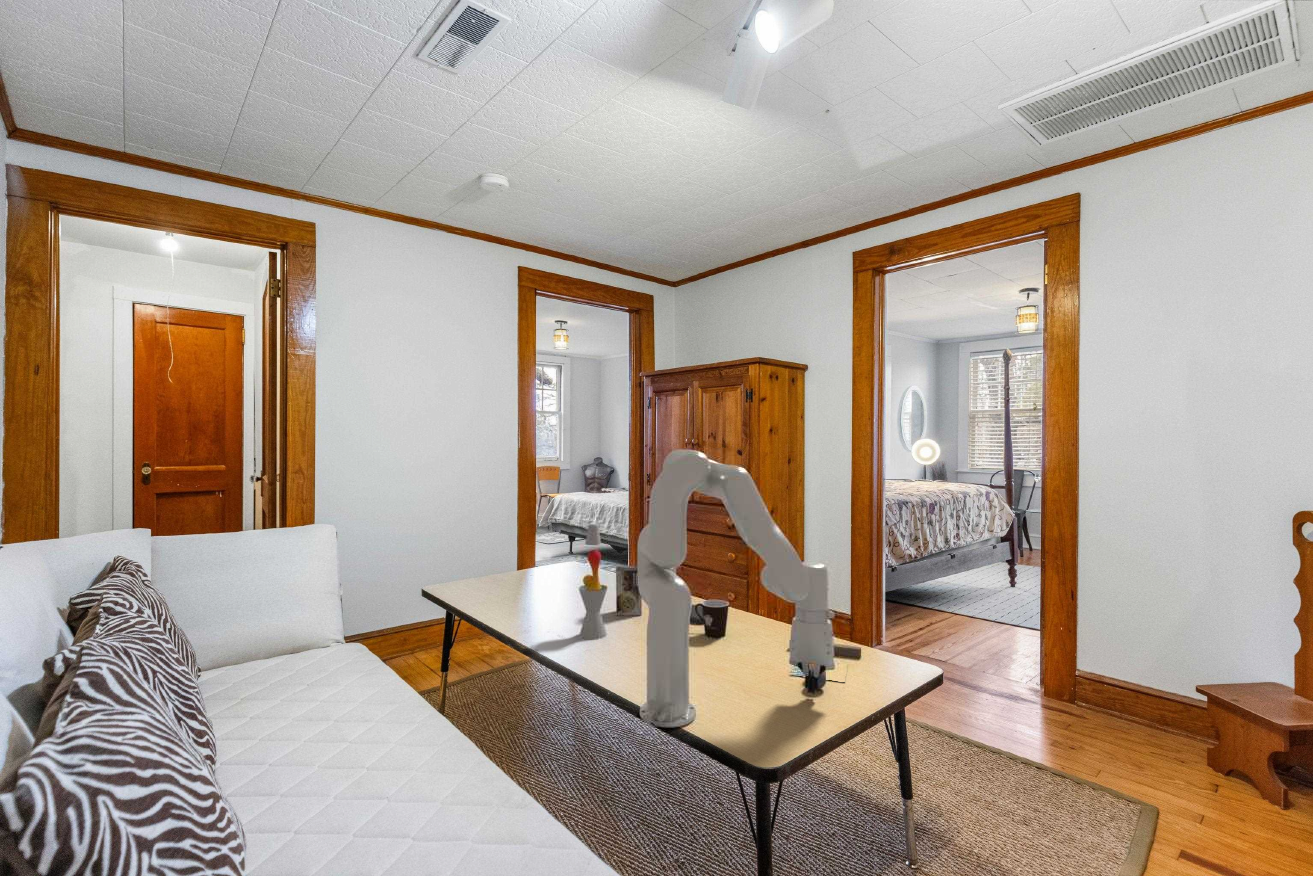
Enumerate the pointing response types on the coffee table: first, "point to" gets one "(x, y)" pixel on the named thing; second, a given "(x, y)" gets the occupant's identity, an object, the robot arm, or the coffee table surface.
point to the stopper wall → (845, 650)
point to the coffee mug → (714, 617)
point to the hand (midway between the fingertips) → (811, 691)
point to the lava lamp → (593, 591)
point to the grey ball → (820, 679)
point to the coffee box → (627, 591)
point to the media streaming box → (694, 617)
